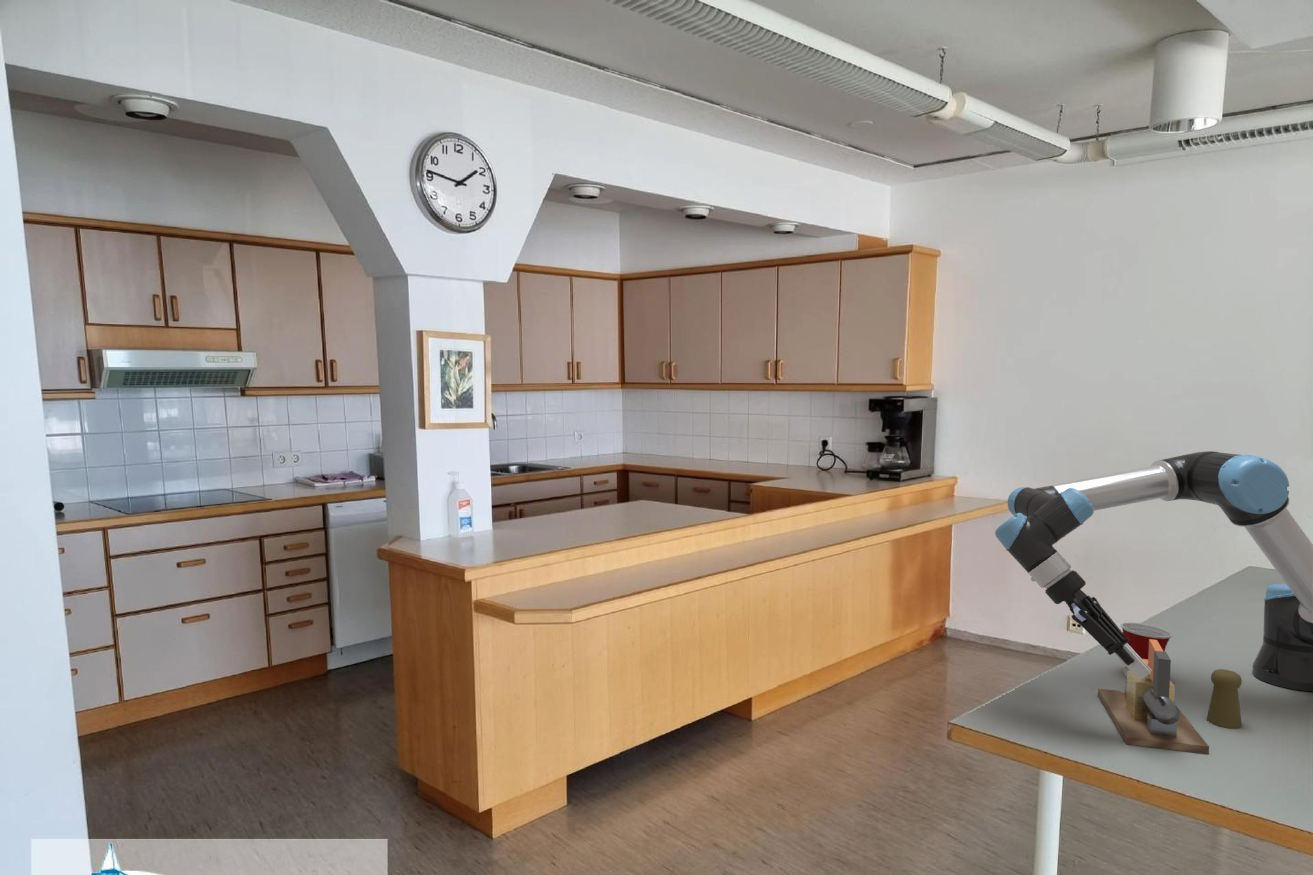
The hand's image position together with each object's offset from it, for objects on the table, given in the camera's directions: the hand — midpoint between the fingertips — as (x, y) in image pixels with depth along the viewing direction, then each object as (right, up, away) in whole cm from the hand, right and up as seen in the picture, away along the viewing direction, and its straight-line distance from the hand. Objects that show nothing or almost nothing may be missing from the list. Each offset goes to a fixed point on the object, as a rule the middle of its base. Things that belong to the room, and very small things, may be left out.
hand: (1145, 675), depth 161 cm
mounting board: (+6, -12, +9) cm, 16 cm away
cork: (+22, -13, +9) cm, 27 cm away
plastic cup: (+21, -11, +35) cm, 42 cm away
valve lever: (+3, -3, +2) cm, 5 cm away
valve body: (+6, -11, +9) cm, 15 cm away
